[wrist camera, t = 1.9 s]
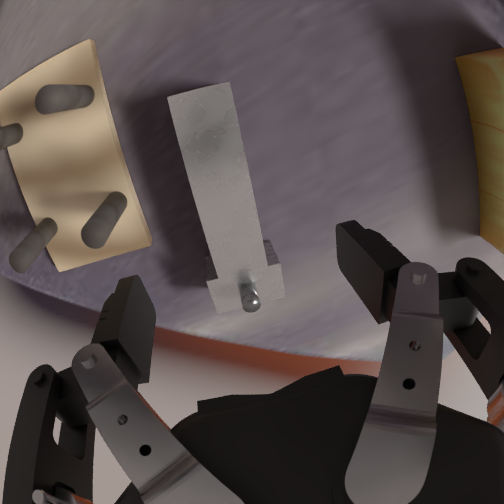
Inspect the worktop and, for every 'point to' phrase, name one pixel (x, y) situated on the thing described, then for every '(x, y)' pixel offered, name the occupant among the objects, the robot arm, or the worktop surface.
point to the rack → (69, 163)
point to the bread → (487, 135)
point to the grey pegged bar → (225, 200)
